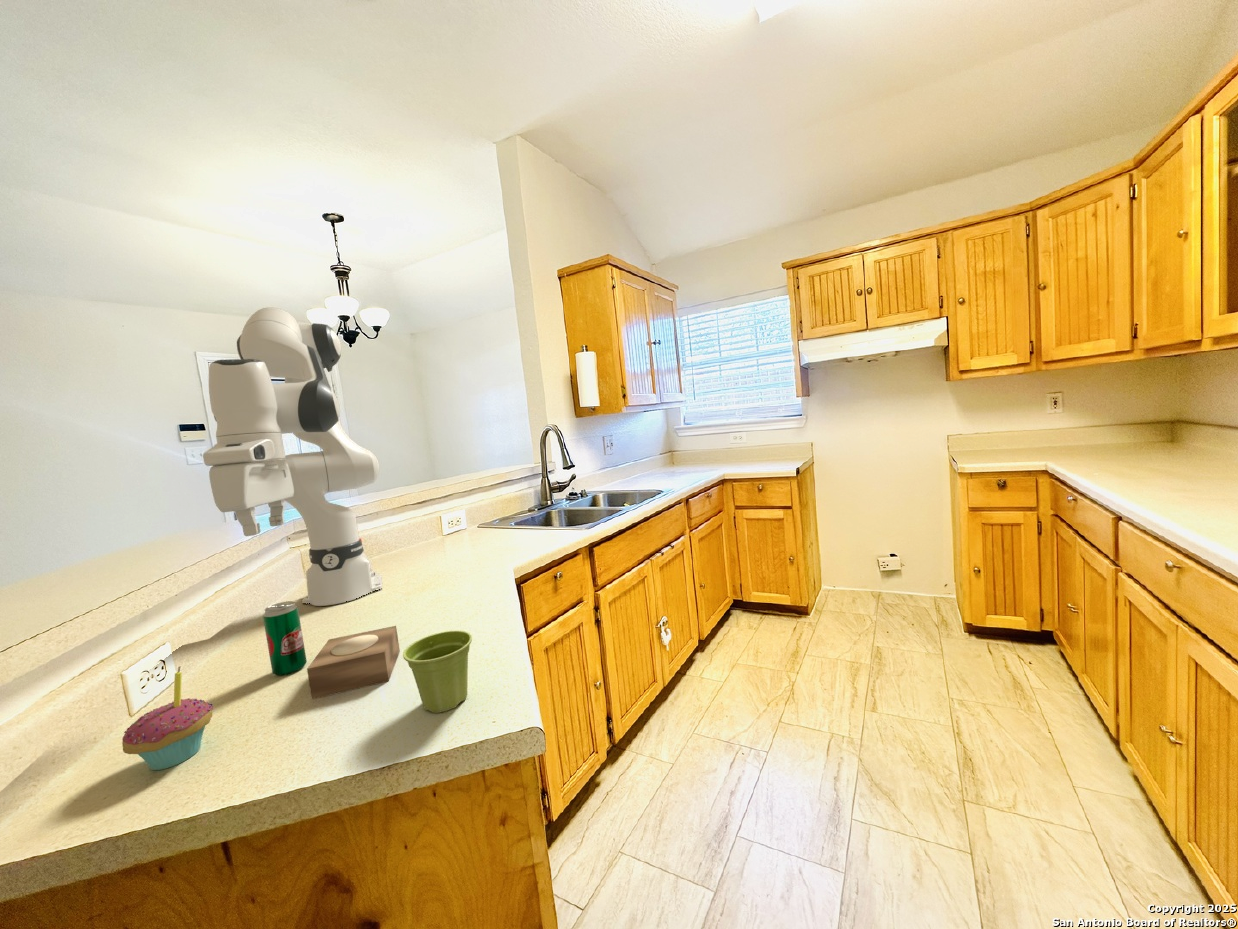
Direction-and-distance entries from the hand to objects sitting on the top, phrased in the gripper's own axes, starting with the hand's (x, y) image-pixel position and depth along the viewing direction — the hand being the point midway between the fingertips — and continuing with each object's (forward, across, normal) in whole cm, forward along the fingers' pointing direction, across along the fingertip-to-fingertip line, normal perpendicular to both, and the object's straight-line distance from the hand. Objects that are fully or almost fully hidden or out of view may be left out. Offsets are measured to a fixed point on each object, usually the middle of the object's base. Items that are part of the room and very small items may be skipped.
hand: (265, 530), depth 79 cm
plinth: (+26, +8, +13) cm, 30 cm away
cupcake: (+26, +21, -6) cm, 34 cm away
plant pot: (+26, +24, +28) cm, 45 cm away
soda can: (+26, 0, 0) cm, 26 cm away
